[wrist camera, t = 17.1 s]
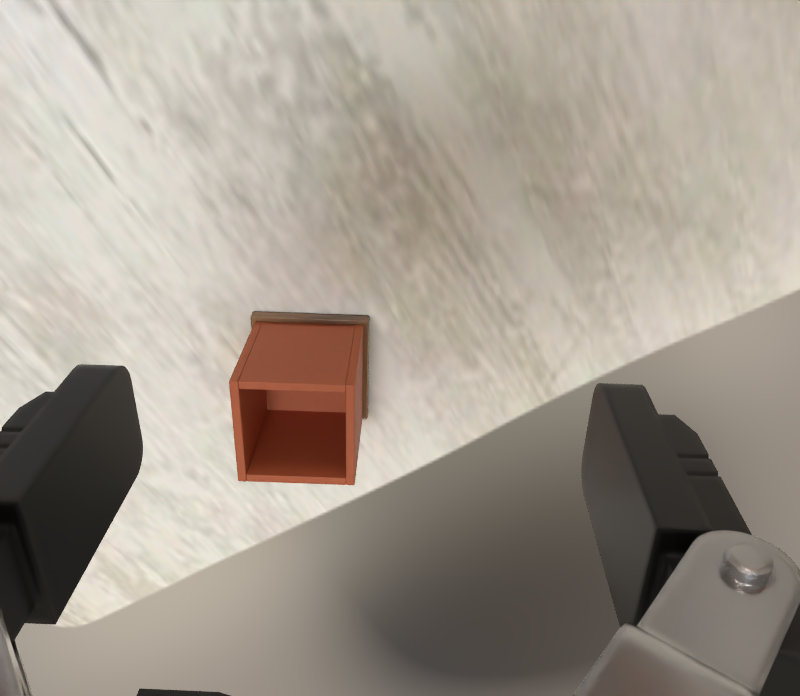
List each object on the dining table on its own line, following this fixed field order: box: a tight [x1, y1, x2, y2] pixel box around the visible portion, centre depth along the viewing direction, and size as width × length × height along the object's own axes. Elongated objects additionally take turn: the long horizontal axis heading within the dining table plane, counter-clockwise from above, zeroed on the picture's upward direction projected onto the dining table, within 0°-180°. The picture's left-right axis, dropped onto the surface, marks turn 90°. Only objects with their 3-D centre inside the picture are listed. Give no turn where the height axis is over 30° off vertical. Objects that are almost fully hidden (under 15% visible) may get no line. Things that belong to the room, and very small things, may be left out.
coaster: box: [251, 312, 369, 419], centre depth 39 cm, size 6×6×1 cm
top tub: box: [229, 321, 363, 485], centre depth 36 cm, size 6×6×6 cm
